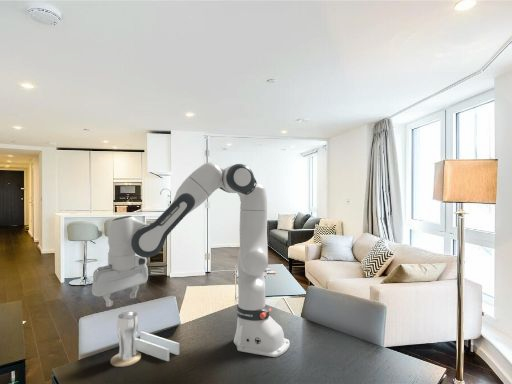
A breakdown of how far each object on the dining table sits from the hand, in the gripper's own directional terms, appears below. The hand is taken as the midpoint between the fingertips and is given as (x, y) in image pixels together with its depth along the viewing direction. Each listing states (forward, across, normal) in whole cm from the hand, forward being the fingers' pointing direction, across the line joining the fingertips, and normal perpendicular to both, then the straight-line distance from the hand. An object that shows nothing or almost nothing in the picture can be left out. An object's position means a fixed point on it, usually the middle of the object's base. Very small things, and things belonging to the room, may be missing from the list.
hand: (121, 301), depth 105 cm
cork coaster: (+21, +2, 0) cm, 21 cm away
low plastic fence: (+21, +11, -4) cm, 24 cm away
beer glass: (+20, +3, 0) cm, 21 cm away
